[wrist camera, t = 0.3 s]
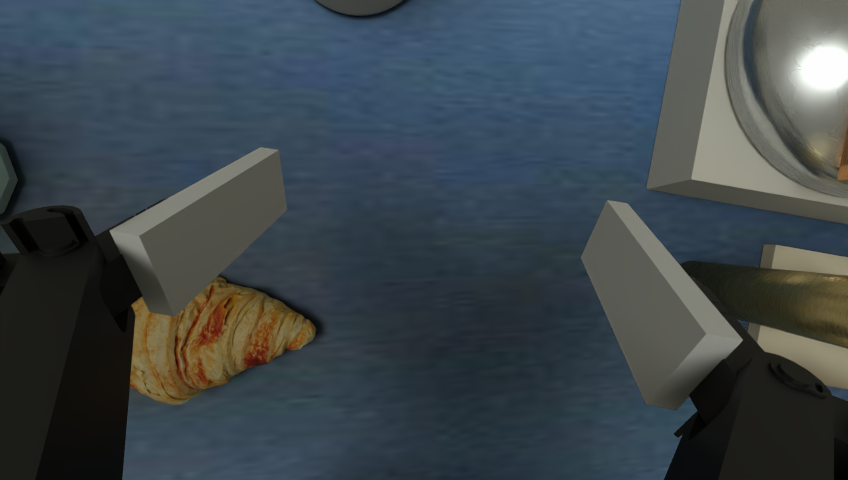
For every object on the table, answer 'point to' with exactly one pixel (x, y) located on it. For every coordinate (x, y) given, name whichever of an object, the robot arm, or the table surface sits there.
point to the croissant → (211, 340)
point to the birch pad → (813, 355)
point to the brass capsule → (780, 298)
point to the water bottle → (6, 178)
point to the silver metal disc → (794, 86)
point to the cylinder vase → (359, 6)
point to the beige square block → (719, 129)
